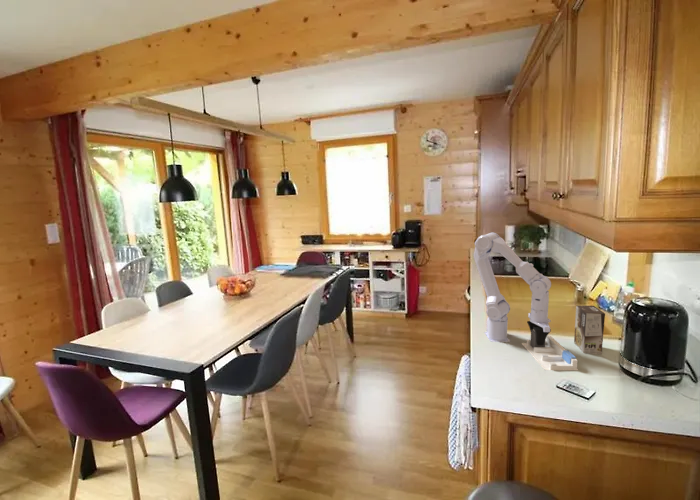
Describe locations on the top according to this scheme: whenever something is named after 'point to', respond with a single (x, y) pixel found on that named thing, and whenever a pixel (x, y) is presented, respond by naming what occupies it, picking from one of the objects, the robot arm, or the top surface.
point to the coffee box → (589, 329)
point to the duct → (552, 355)
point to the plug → (534, 340)
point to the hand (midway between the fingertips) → (537, 342)
